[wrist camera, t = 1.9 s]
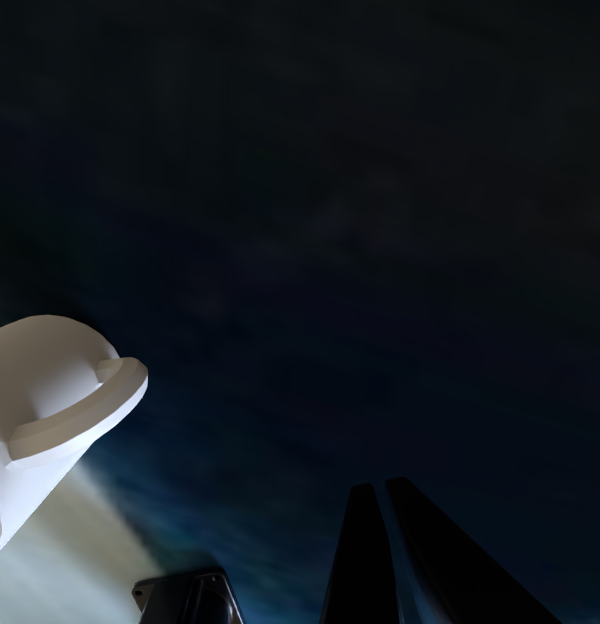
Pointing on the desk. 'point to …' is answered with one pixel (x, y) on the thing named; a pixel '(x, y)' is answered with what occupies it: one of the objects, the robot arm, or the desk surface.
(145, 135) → the desk surface
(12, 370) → the cup
